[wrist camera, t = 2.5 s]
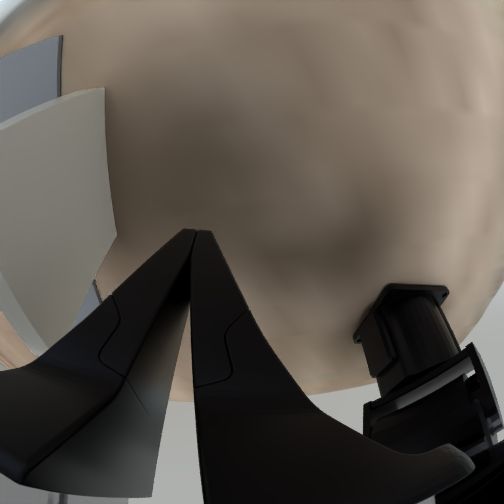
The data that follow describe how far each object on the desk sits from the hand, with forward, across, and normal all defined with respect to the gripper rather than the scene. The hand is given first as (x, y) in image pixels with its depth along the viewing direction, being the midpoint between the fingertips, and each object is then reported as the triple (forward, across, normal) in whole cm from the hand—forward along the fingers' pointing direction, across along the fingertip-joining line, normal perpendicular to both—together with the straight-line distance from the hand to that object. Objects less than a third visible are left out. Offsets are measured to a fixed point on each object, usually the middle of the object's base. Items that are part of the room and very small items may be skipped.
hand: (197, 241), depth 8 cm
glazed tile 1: (+5, +6, 0) cm, 8 cm away
